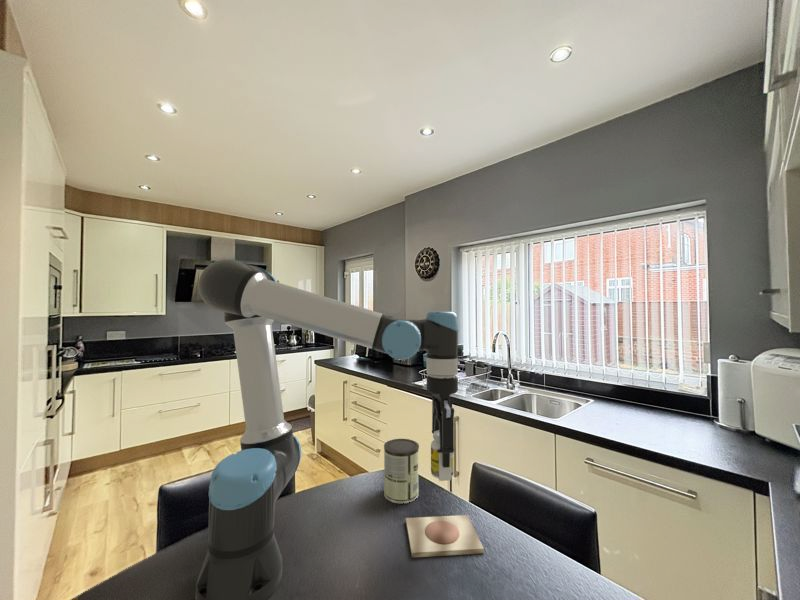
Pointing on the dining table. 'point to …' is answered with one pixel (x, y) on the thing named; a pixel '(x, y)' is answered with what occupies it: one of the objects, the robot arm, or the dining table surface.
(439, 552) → the board
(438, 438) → the supplement bottle
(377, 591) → the dining table surface
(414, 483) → the coffee can
